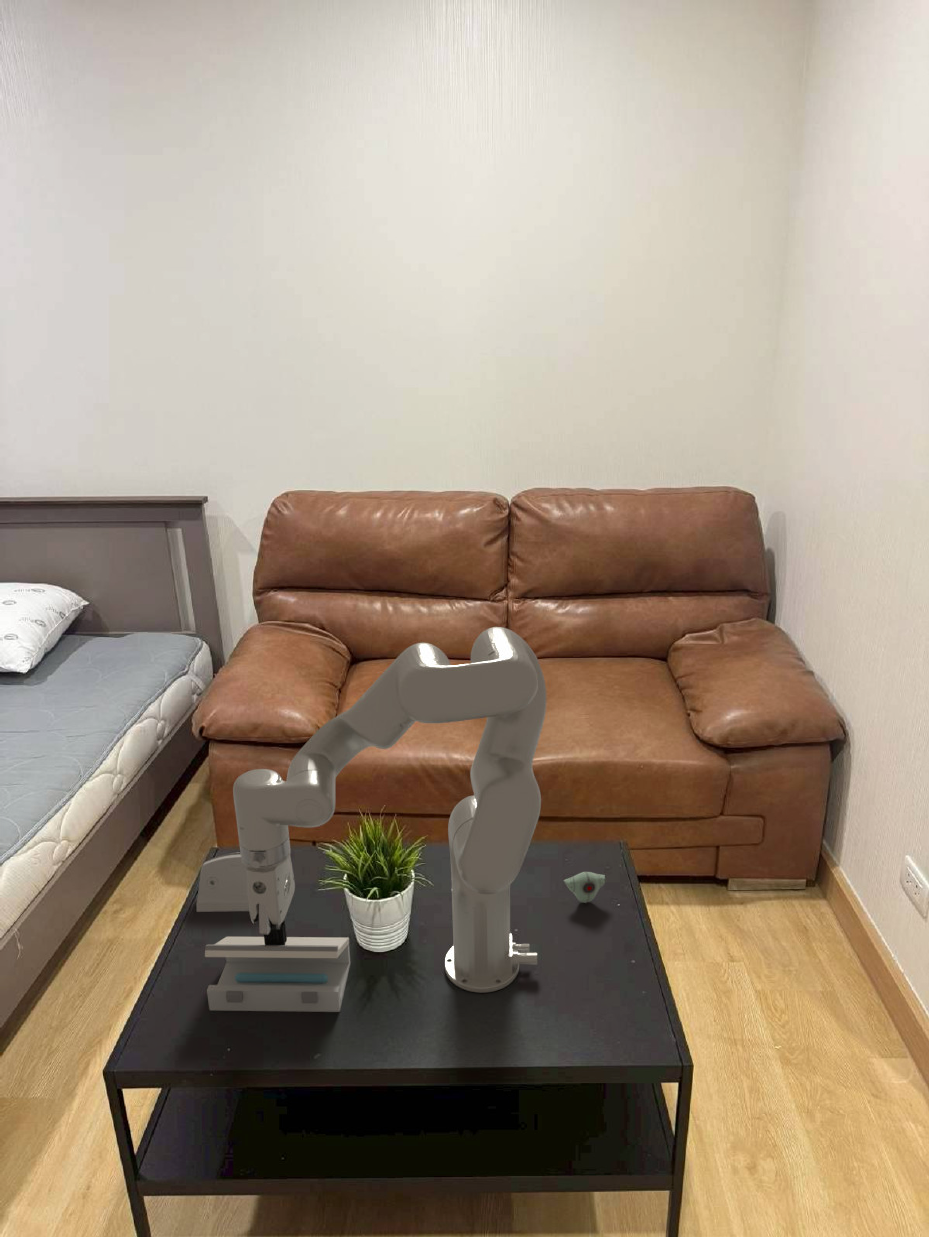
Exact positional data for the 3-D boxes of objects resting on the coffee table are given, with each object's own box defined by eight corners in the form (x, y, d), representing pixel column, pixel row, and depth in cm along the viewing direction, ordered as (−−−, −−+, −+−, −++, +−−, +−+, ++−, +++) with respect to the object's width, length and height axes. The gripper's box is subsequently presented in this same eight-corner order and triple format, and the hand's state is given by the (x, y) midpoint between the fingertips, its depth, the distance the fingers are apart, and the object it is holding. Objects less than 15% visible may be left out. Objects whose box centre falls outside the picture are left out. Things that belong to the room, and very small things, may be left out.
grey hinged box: (350, 963, 153) (349, 944, 152) (338, 1015, 142) (337, 995, 141) (229, 962, 154) (226, 943, 153) (208, 1014, 143) (205, 994, 141)
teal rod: (328, 978, 148) (328, 971, 148) (327, 984, 147) (326, 977, 146) (236, 977, 149) (236, 970, 148) (234, 983, 148) (233, 976, 147)
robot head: (602, 893, 169) (603, 863, 167) (609, 907, 166) (611, 876, 163) (561, 898, 168) (562, 868, 166) (567, 912, 164) (568, 882, 162)
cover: (348, 943, 152) (349, 933, 152) (336, 958, 141) (337, 946, 141) (226, 942, 152) (226, 932, 153) (204, 956, 141) (205, 945, 142)
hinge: (194, 911, 167) (193, 858, 167) (202, 903, 171) (201, 851, 171) (283, 910, 167) (282, 856, 166) (289, 902, 171) (288, 850, 171)
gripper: (277, 877, 131) (288, 977, 137) (300, 820, 145) (309, 914, 151) (226, 876, 132) (239, 976, 138) (254, 820, 146) (265, 913, 152)
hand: (276, 943), depth 145 cm, fingers closed
